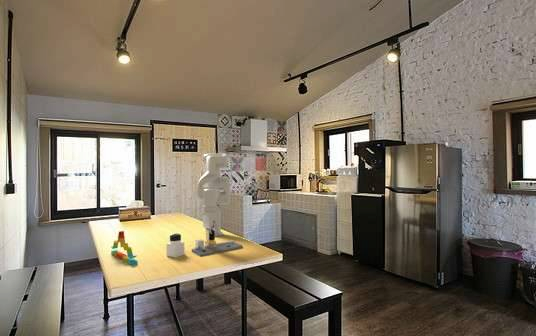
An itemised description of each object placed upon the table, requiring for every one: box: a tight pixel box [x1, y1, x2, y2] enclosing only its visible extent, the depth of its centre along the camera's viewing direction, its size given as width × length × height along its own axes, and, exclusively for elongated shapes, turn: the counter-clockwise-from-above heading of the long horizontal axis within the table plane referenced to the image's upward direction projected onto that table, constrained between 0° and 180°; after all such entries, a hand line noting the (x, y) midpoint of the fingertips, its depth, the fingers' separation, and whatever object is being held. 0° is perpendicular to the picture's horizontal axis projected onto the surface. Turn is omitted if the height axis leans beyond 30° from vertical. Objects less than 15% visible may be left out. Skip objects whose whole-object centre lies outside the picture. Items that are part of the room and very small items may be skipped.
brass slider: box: [204, 229, 217, 248], centre depth 181 cm, size 9×5×10 cm, turn 37°
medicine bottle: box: [165, 233, 186, 258], centre depth 172 cm, size 7×7×12 cm
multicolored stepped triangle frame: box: [110, 230, 139, 266], centre depth 167 cm, size 30×3×15 cm, turn 45°
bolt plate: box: [191, 239, 244, 257], centre depth 182 cm, size 12×28×6 cm, turn 127°
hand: (210, 239), depth 183 cm, fingers closed on brass slider, 3 cm apart
